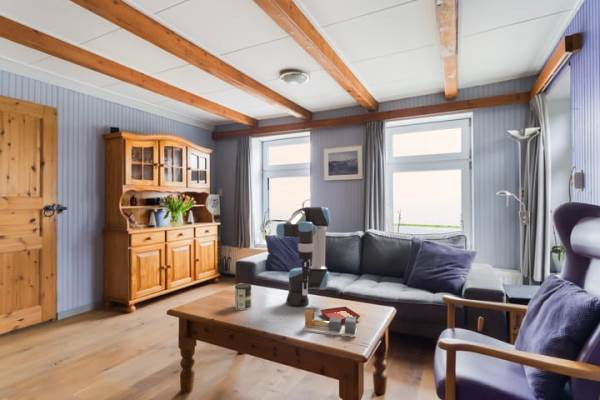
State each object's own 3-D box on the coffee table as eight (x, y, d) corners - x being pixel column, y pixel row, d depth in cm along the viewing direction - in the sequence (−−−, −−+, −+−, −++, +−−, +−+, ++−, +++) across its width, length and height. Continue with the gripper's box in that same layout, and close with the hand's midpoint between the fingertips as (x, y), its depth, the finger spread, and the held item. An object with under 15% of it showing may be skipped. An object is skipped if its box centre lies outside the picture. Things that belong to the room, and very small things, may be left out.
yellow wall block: (305, 326, 167) (305, 311, 167) (306, 323, 171) (307, 308, 171) (338, 330, 162) (338, 314, 162) (339, 327, 166) (339, 312, 166)
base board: (307, 323, 174) (307, 322, 174) (357, 329, 167) (357, 328, 167) (302, 331, 165) (302, 329, 165) (355, 337, 157) (355, 335, 157)
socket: (346, 327, 167) (346, 316, 167) (356, 329, 165) (356, 317, 165) (344, 333, 160) (344, 321, 160) (354, 334, 159) (354, 322, 159)
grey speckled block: (330, 326, 168) (330, 317, 168) (341, 327, 167) (341, 318, 167) (328, 330, 163) (328, 321, 163) (340, 332, 161) (340, 322, 161)
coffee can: (249, 304, 208) (249, 282, 208) (252, 309, 198) (252, 286, 198) (233, 305, 204) (233, 284, 204) (236, 311, 194) (236, 288, 194)
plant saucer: (319, 314, 190) (319, 309, 190) (345, 311, 196) (345, 305, 196) (332, 326, 173) (332, 320, 173) (361, 321, 179) (361, 315, 179)
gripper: (299, 247, 178) (299, 284, 178) (297, 255, 153) (297, 298, 153) (312, 247, 178) (312, 284, 178) (312, 255, 153) (312, 298, 153)
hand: (305, 291), depth 166 cm, fingers open, 13 cm apart
